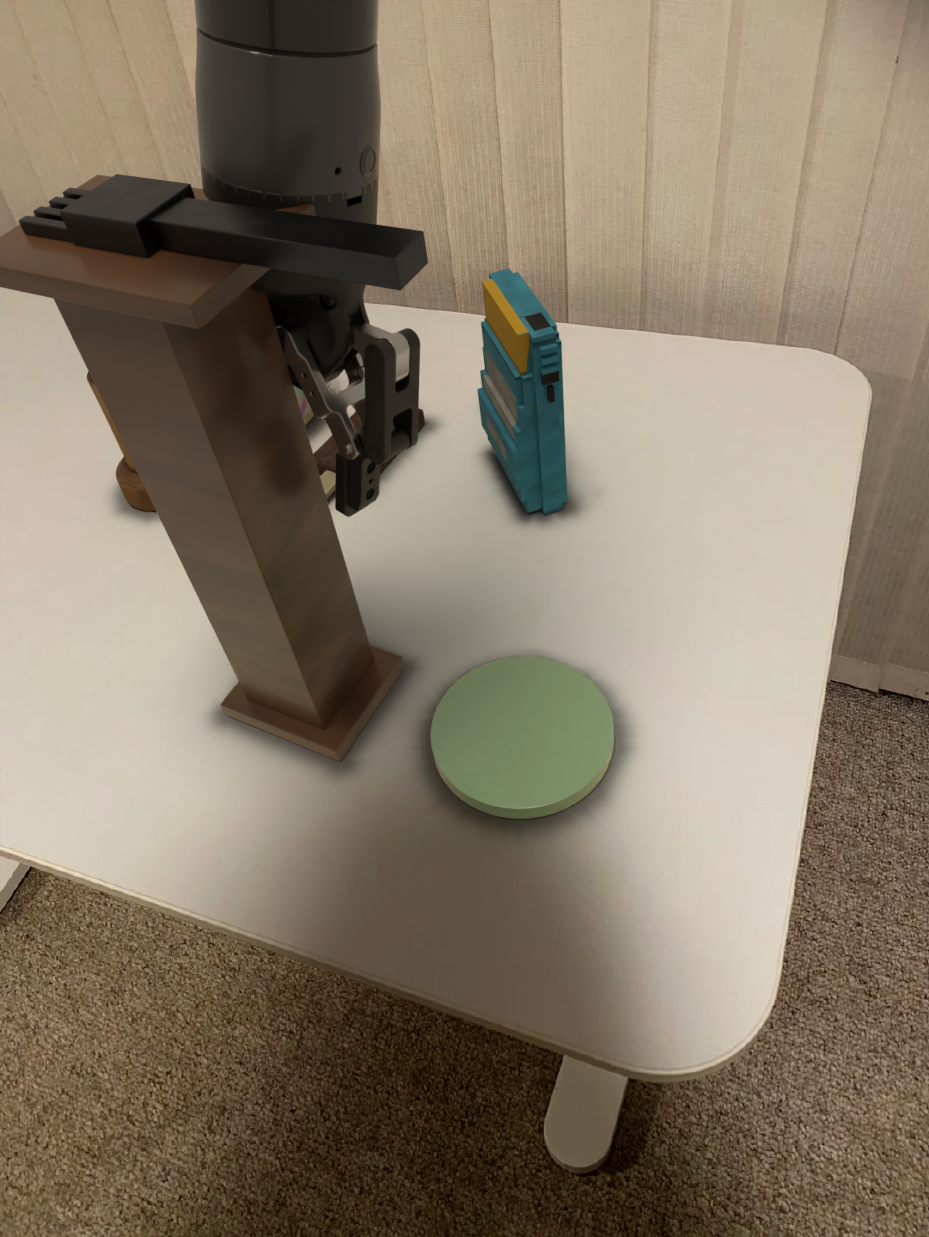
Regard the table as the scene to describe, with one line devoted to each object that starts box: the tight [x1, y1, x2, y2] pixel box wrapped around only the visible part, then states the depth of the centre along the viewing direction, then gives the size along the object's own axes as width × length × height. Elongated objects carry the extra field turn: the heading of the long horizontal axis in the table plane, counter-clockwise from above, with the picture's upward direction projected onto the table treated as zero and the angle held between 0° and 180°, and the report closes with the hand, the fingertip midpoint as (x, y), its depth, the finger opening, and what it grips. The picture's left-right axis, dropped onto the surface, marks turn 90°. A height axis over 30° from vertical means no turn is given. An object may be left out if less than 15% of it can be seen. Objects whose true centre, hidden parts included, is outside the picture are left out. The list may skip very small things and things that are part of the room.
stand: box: [0, 174, 405, 762], centre depth 49 cm, size 8×12×31 cm, turn 62°
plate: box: [429, 655, 615, 820], centre depth 56 cm, size 11×11×1 cm
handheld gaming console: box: [476, 267, 568, 516], centre depth 66 cm, size 10×4×15 cm, turn 17°
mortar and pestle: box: [86, 370, 157, 512], centre depth 70 cm, size 7×6×18 cm
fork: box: [18, 173, 429, 291], centre depth 35 cm, size 3×18×1 cm, turn 62°
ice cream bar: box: [313, 408, 426, 499], centre depth 75 cm, size 5×2×15 cm
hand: (297, 474), depth 50 cm, fingers open, 8 cm apart
